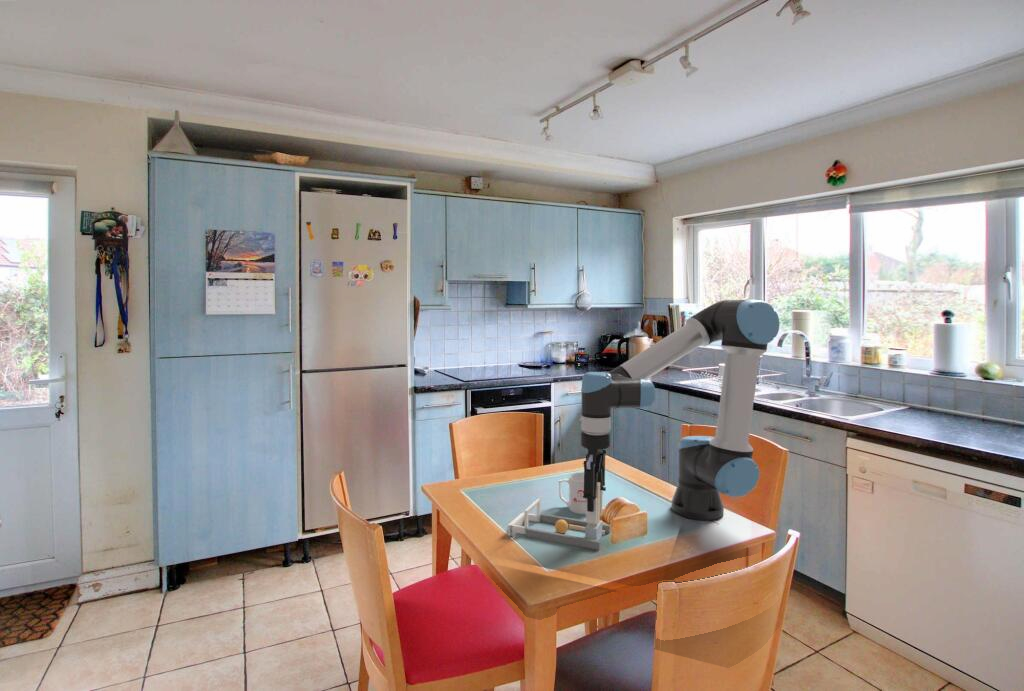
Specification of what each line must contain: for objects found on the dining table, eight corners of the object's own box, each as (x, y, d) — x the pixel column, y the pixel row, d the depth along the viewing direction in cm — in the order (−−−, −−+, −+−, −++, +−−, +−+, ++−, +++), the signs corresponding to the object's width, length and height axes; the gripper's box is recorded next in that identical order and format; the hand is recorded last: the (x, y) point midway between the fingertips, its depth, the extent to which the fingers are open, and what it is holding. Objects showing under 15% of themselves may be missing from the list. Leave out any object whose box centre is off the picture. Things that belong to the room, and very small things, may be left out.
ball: (569, 531, 149) (570, 518, 148) (565, 536, 145) (565, 523, 145) (557, 529, 150) (557, 516, 150) (552, 534, 147) (553, 521, 147)
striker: (602, 535, 146) (603, 480, 145) (596, 544, 141) (597, 487, 140) (591, 533, 147) (592, 478, 146) (585, 541, 142) (586, 485, 141)
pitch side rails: (610, 536, 148) (610, 524, 148) (599, 554, 138) (599, 542, 137) (541, 524, 156) (541, 513, 156) (525, 540, 146) (525, 529, 145)
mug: (599, 509, 168) (600, 473, 167) (596, 520, 160) (596, 483, 159) (561, 505, 171) (561, 470, 171) (556, 515, 163) (556, 479, 162)
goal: (540, 525, 156) (540, 498, 155) (527, 539, 146) (527, 510, 146) (522, 522, 158) (522, 495, 157) (508, 535, 149) (508, 507, 148)
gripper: (590, 423, 152) (589, 504, 153) (571, 438, 135) (570, 529, 137) (617, 426, 149) (615, 509, 150) (601, 441, 132) (599, 534, 134)
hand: (594, 518), depth 144 cm, fingers open, 5 cm apart
